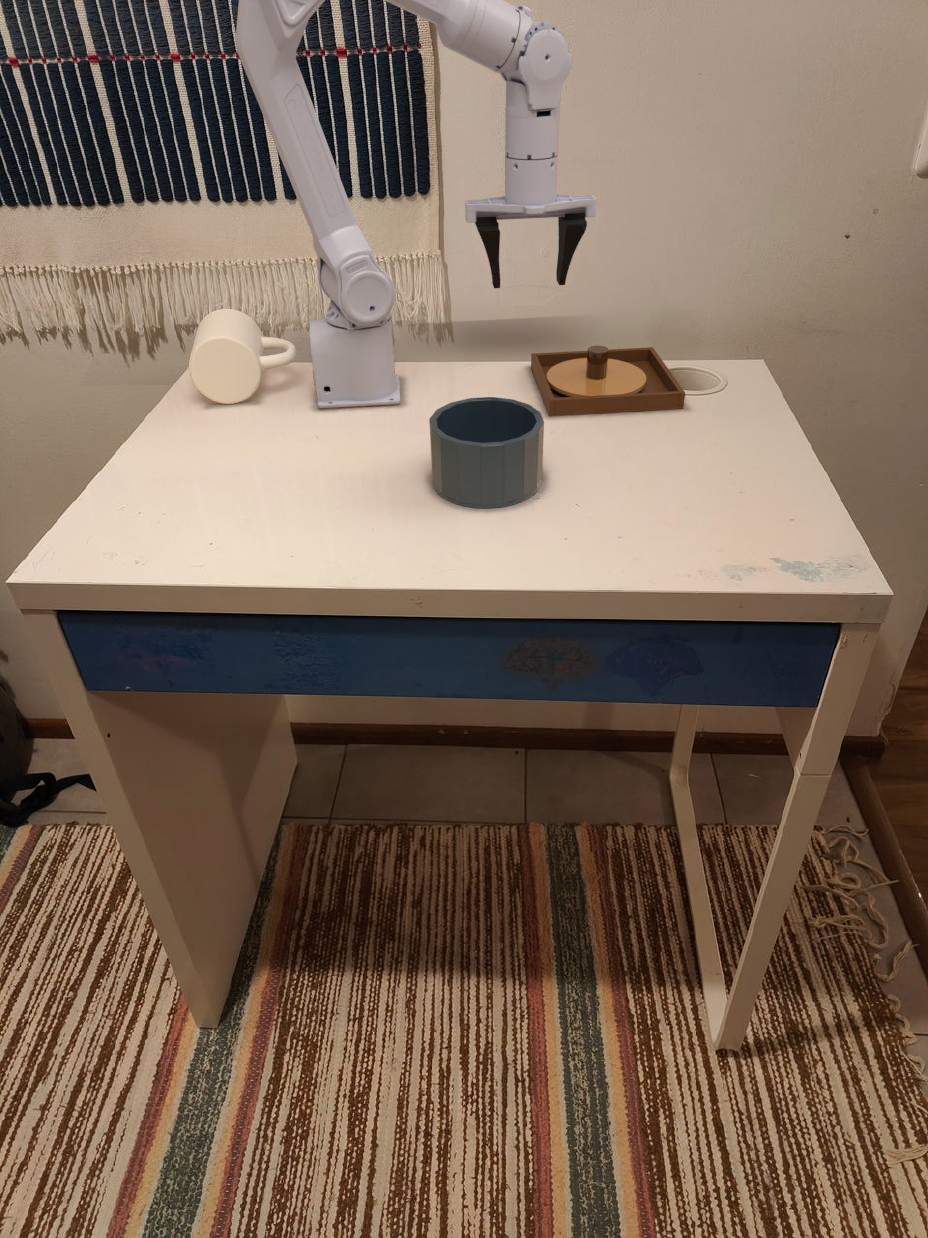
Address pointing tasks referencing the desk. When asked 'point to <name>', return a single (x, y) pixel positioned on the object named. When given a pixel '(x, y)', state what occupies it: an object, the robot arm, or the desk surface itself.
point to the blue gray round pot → (486, 451)
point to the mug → (233, 356)
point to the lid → (595, 375)
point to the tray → (654, 395)
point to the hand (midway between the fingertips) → (528, 284)
